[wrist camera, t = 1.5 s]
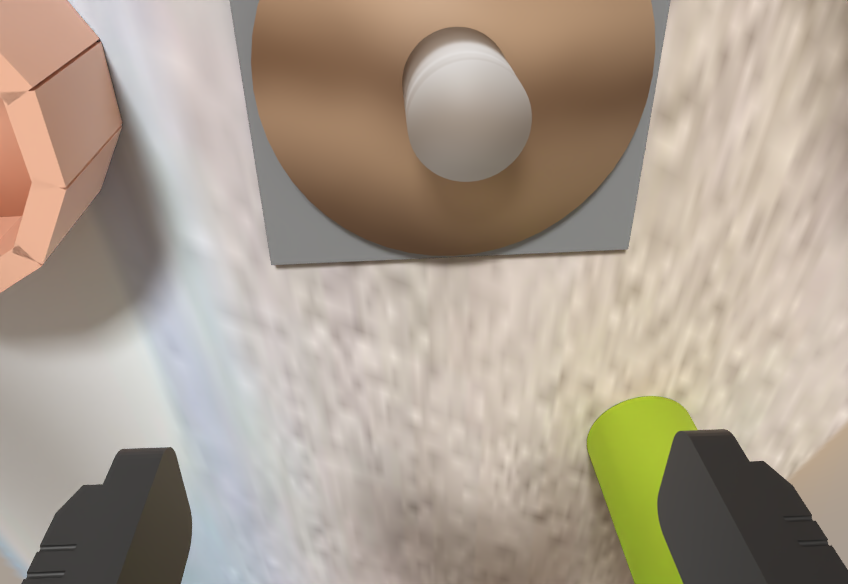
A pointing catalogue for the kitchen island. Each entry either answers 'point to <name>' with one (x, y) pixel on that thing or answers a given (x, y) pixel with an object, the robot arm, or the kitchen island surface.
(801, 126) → the kitchen island surface
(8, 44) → the bowl
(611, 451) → the soap dispenser
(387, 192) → the lid
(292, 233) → the mat
